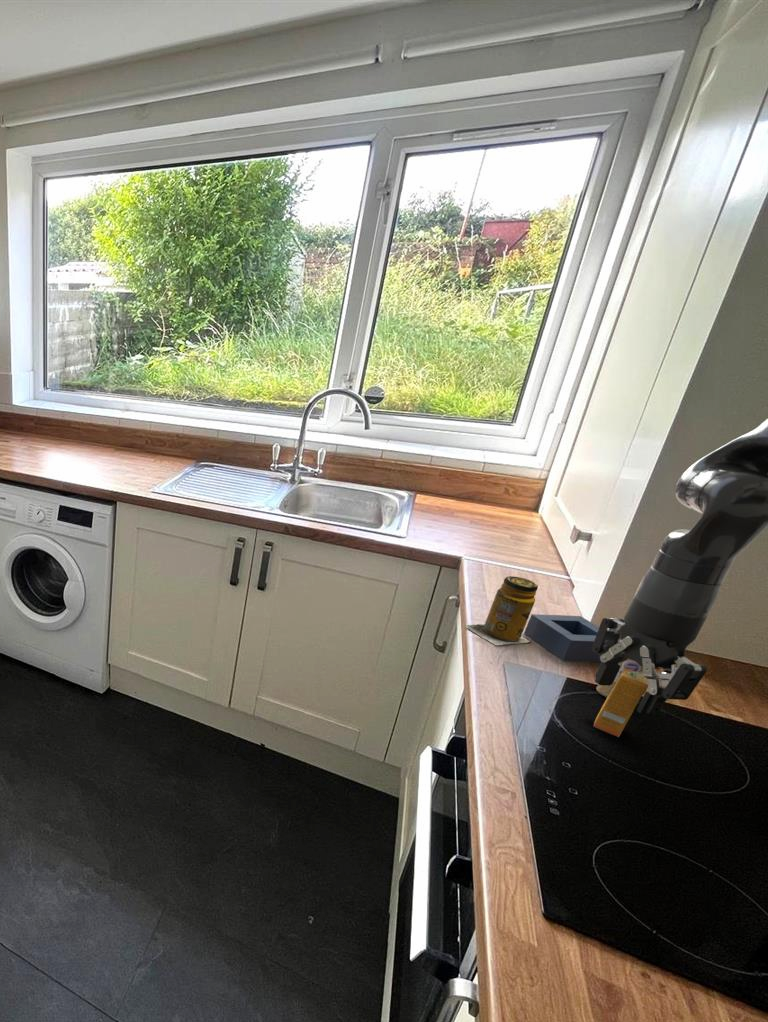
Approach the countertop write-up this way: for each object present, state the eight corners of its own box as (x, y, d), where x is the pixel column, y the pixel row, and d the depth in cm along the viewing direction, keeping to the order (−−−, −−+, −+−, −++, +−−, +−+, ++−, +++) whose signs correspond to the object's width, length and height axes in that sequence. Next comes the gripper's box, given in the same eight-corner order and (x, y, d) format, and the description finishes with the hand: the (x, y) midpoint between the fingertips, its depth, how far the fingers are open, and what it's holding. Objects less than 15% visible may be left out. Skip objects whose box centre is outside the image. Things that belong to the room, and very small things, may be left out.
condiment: (530, 642, 114) (553, 588, 110) (495, 646, 113) (516, 591, 108) (497, 623, 121) (517, 571, 116) (463, 626, 119) (482, 574, 115)
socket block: (614, 663, 109) (624, 642, 107) (562, 661, 109) (571, 640, 107) (572, 635, 118) (580, 615, 116) (523, 633, 118) (531, 614, 116)
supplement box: (621, 739, 89) (649, 684, 85) (592, 727, 91) (618, 674, 87) (624, 729, 91) (651, 676, 87) (595, 718, 93) (621, 666, 89)
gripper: (753, 630, 76) (694, 731, 82) (650, 581, 89) (606, 671, 95) (695, 627, 76) (641, 729, 82) (601, 579, 89) (560, 669, 95)
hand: (623, 698), depth 89 cm, fingers open, 6 cm apart
